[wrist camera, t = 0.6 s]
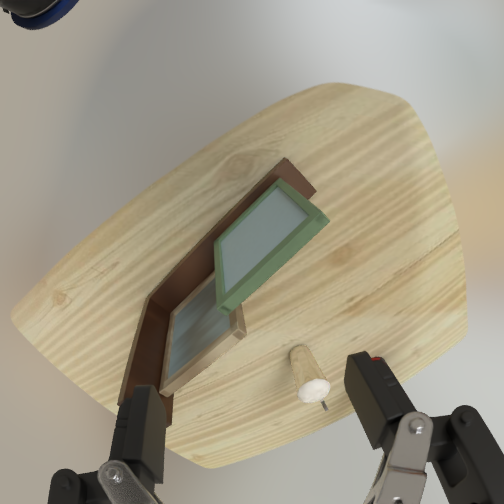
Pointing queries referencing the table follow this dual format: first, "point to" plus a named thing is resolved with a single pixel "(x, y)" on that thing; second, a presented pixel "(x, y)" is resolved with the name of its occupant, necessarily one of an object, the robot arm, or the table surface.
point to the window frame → (192, 310)
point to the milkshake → (308, 376)
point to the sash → (262, 242)
